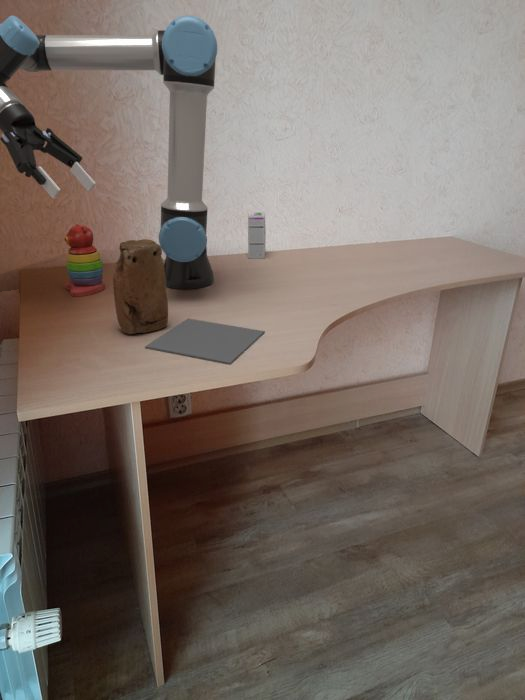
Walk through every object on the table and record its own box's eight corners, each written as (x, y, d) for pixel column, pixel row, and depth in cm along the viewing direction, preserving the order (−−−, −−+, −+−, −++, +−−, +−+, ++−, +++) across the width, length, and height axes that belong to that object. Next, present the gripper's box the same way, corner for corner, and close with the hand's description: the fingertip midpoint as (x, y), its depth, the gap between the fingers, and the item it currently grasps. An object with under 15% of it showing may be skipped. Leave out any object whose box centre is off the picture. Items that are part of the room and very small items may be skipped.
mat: (187, 319, 128) (187, 318, 127) (264, 332, 121) (264, 331, 120) (145, 348, 112) (145, 346, 112) (230, 364, 106) (230, 362, 105)
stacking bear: (64, 287, 150) (54, 223, 143) (100, 282, 155) (92, 220, 147) (72, 298, 142) (62, 231, 134) (109, 292, 146) (102, 227, 139)
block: (156, 318, 128) (149, 236, 120) (172, 328, 123) (166, 242, 115) (114, 329, 122) (104, 242, 113) (129, 339, 116) (120, 249, 108)
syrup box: (265, 258, 180) (265, 215, 174) (247, 258, 180) (247, 215, 174) (265, 254, 185) (265, 212, 179) (248, 254, 185) (248, 212, 179)
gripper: (40, 126, 131) (100, 195, 132) (-42, 128, 111) (29, 210, 112) (54, 102, 127) (115, 173, 128) (-29, 100, 107) (44, 185, 108)
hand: (75, 190), depth 120 cm, fingers open, 11 cm apart
